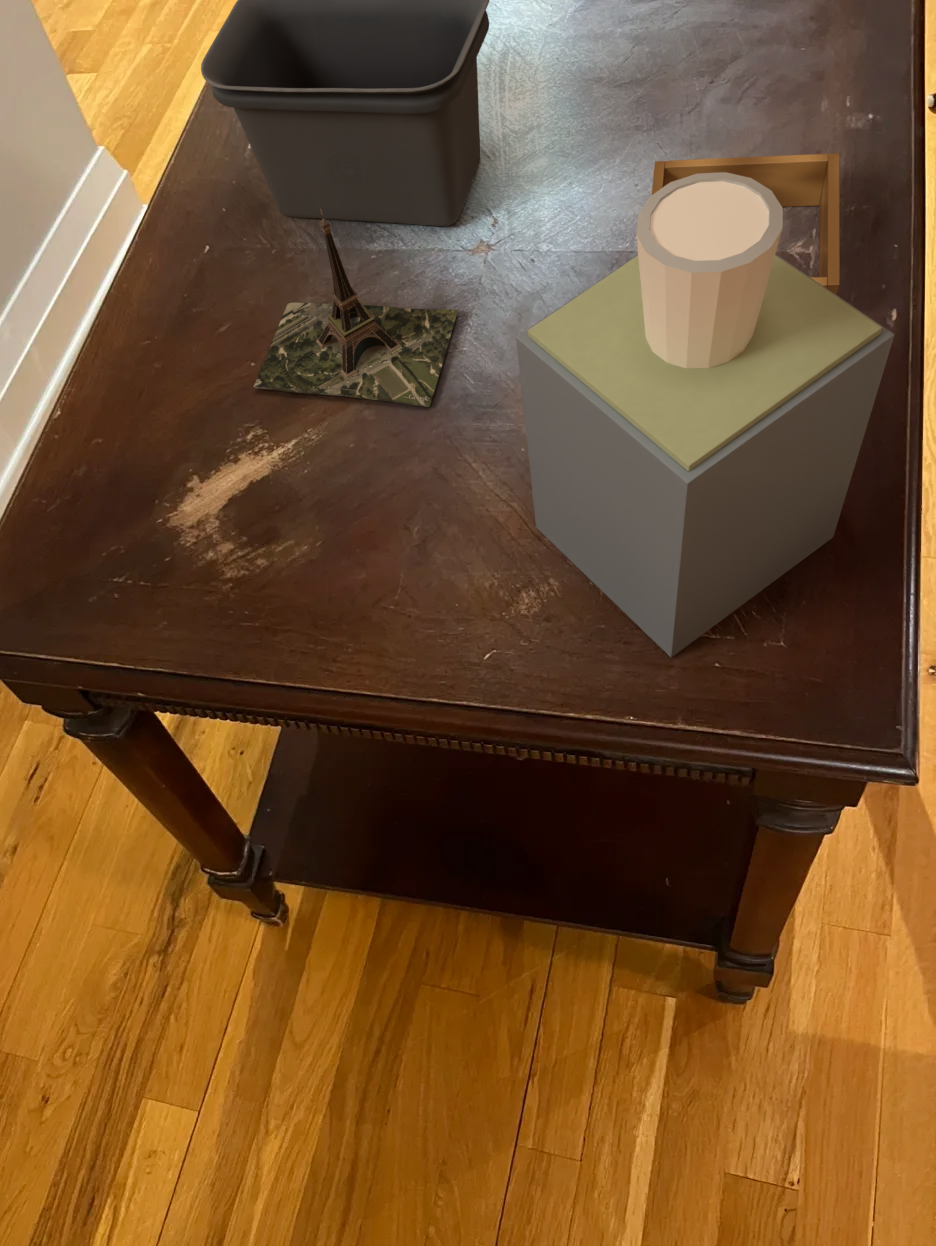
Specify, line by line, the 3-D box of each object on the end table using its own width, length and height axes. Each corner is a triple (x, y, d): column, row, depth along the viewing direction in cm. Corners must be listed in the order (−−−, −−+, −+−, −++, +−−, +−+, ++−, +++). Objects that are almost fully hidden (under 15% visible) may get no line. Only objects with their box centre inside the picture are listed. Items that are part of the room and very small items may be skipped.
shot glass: (609, 318, 60) (609, 209, 54) (720, 264, 60) (731, 150, 54) (676, 398, 57) (684, 292, 50) (792, 340, 57) (814, 228, 51)
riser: (833, 537, 72) (895, 334, 57) (671, 658, 71) (687, 483, 55) (688, 419, 79) (706, 207, 63) (535, 527, 77) (515, 336, 61)
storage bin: (241, 237, 96) (185, 83, 83) (300, 119, 102) (255, -42, 89) (473, 255, 90) (450, 92, 77) (521, 129, 96) (507, -43, 83)
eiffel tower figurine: (251, 395, 87) (194, 260, 76) (288, 302, 91) (240, 160, 80) (430, 410, 83) (400, 270, 72) (461, 312, 87) (437, 164, 76)
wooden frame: (830, 198, 86) (839, 152, 82) (829, 327, 80) (839, 284, 77) (653, 204, 89) (654, 160, 85) (640, 329, 83) (642, 288, 80)
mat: (880, 334, 57) (882, 327, 56) (688, 472, 55) (689, 465, 55) (706, 215, 63) (707, 208, 62) (528, 336, 61) (527, 330, 60)
